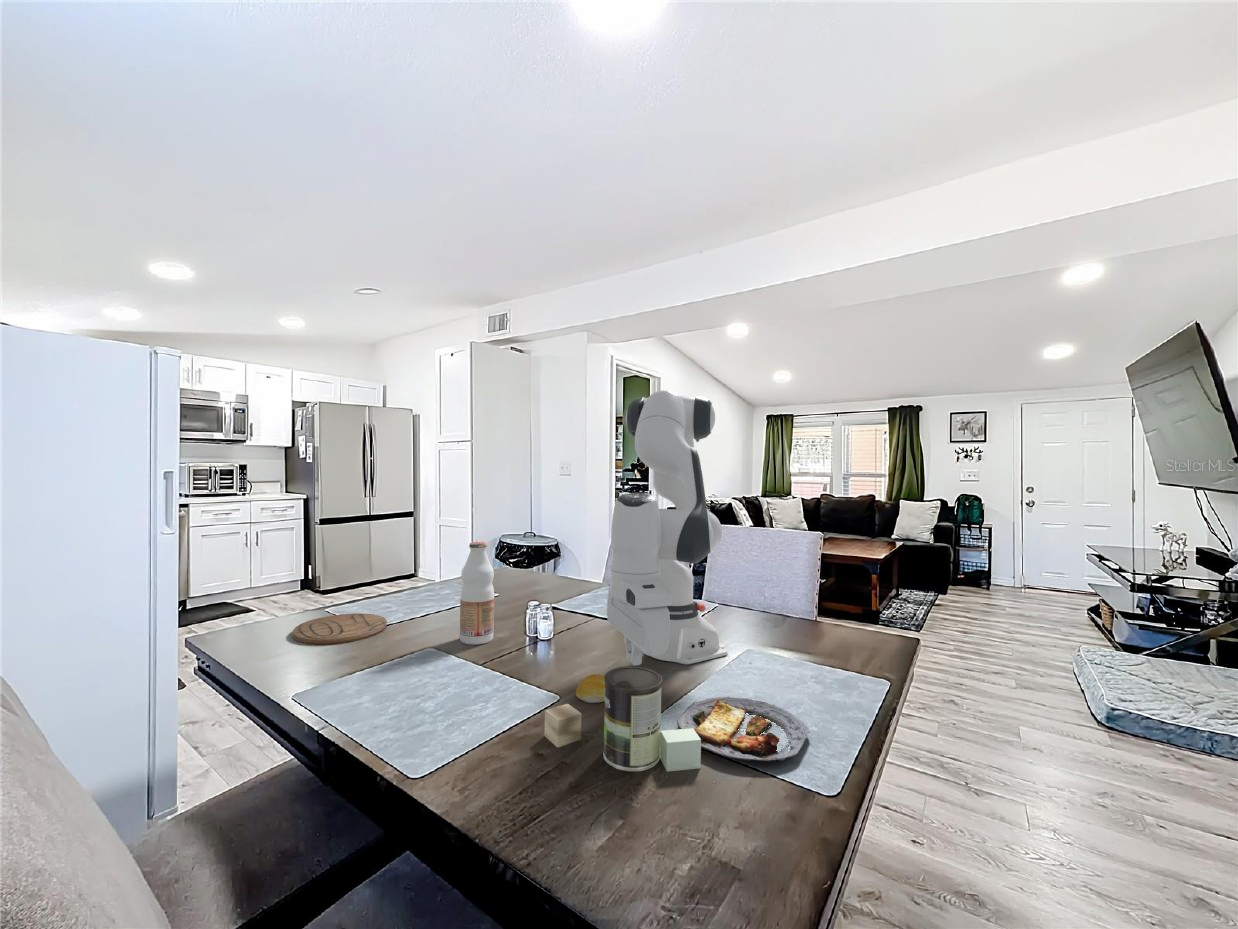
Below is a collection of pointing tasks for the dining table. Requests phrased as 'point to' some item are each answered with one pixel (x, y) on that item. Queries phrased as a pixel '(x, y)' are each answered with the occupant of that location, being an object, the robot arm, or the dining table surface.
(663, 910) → the dining table surface
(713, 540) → the robot arm
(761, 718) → the food plate
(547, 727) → the maple block
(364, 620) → the trivet
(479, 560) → the fruit juice
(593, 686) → the bread roll
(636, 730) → the coffee can
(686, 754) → the pale green block
